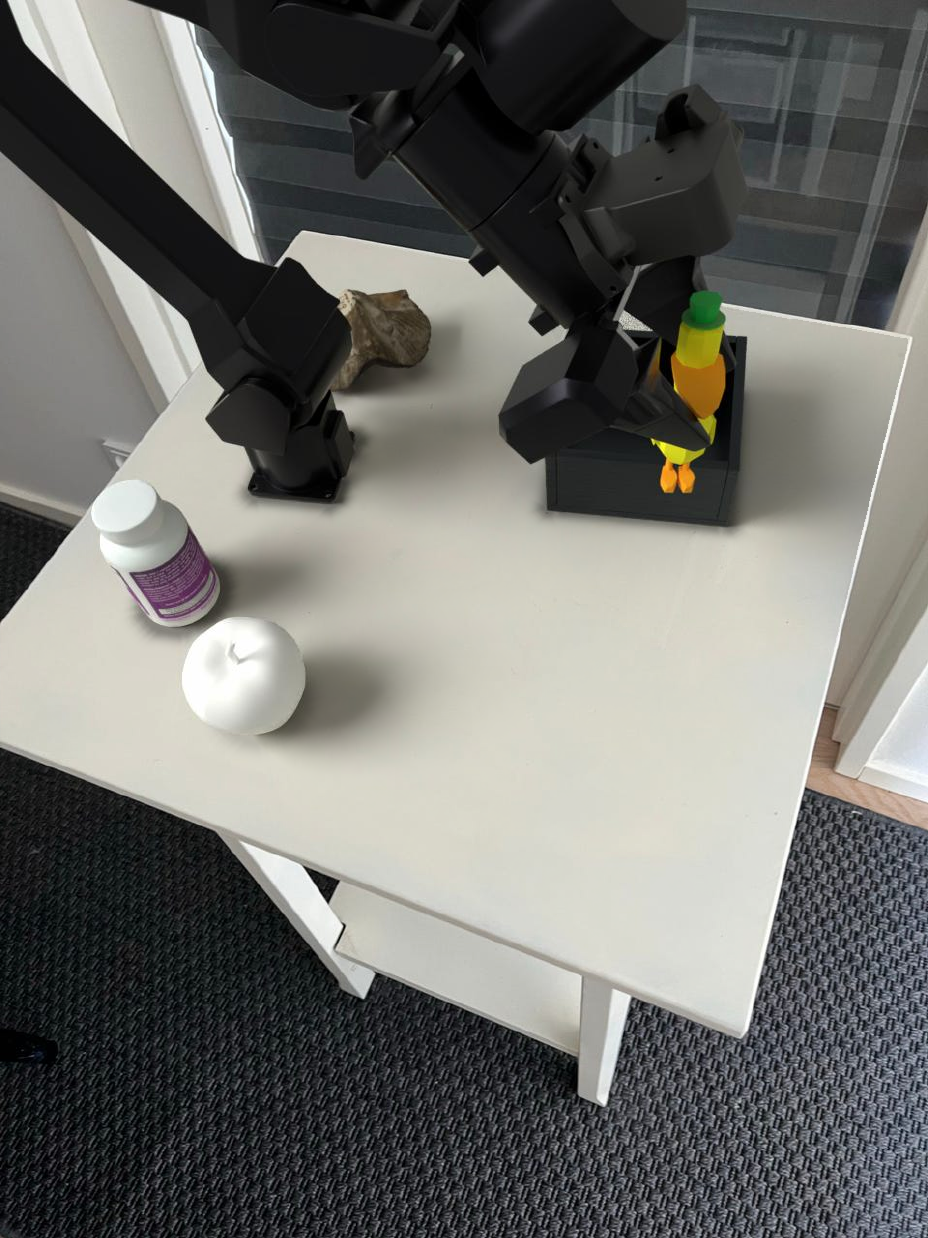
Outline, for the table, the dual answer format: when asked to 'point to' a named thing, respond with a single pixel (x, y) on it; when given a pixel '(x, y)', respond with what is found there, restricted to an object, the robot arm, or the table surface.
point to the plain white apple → (244, 676)
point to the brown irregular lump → (382, 333)
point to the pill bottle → (155, 553)
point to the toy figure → (696, 380)
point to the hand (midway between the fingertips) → (716, 407)
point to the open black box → (653, 462)
